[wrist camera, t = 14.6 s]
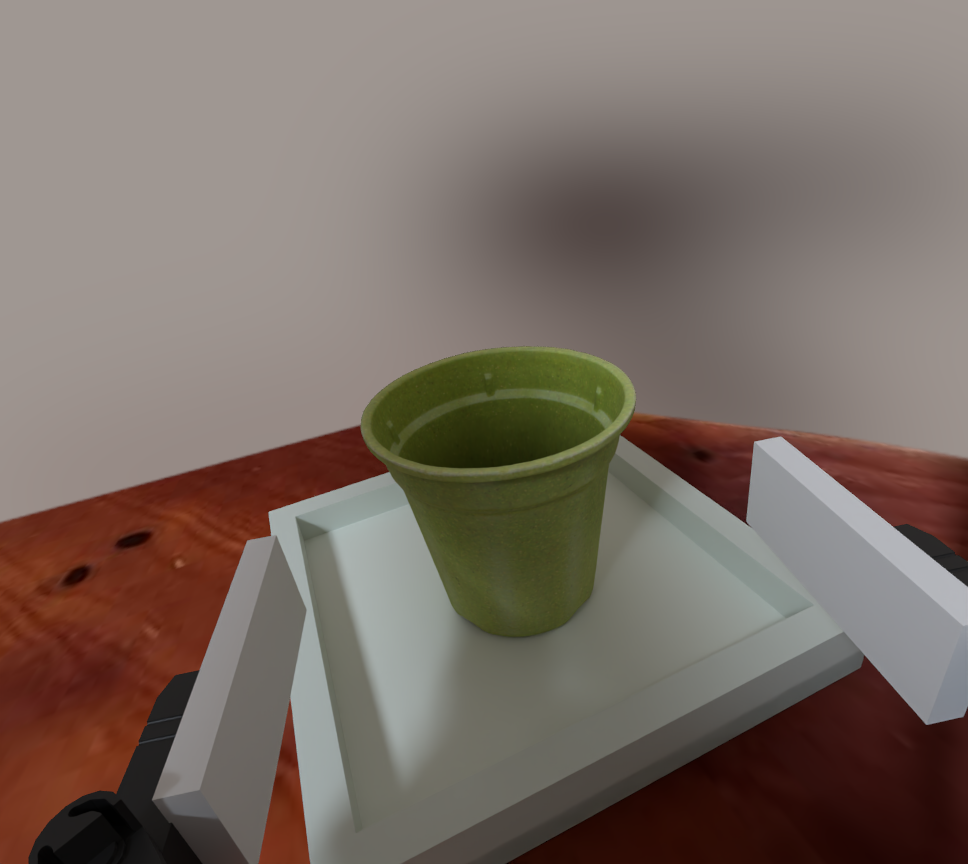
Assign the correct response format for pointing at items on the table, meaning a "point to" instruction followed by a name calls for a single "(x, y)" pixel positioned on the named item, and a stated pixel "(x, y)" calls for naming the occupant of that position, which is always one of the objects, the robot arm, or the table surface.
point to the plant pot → (506, 475)
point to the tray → (530, 671)
